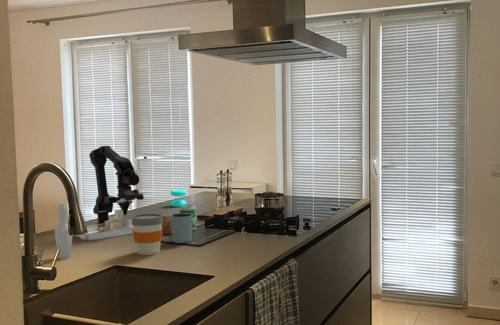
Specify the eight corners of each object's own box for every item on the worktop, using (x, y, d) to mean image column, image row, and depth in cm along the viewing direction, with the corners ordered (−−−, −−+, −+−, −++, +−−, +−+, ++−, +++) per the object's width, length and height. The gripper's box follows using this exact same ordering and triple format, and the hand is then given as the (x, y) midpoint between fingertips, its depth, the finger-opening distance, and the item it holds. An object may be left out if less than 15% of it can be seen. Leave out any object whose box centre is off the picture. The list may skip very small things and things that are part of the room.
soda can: (184, 232, 258) (183, 207, 257) (178, 229, 265) (178, 205, 264) (198, 230, 262) (197, 206, 261) (193, 228, 268) (192, 204, 267)
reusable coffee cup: (129, 251, 222) (127, 215, 221) (157, 247, 228) (156, 212, 227) (138, 257, 211) (136, 220, 210) (168, 253, 218) (167, 216, 216)
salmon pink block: (105, 227, 266) (104, 221, 265) (113, 225, 268) (113, 219, 268) (108, 228, 262) (108, 222, 262) (117, 227, 265) (117, 221, 265)
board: (99, 231, 265) (99, 227, 265) (127, 227, 274) (127, 223, 274) (110, 235, 255) (109, 231, 255) (138, 230, 264) (138, 226, 264)
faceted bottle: (53, 257, 214) (50, 203, 213) (67, 254, 219) (65, 201, 217) (61, 260, 210) (58, 204, 208) (76, 257, 215) (73, 202, 213)
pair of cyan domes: (167, 191, 338) (177, 189, 346) (167, 206, 339) (177, 204, 347) (179, 191, 333) (189, 189, 341) (180, 207, 334) (190, 205, 342)
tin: (151, 232, 261) (150, 215, 260) (155, 230, 264) (154, 214, 263) (176, 234, 254) (176, 217, 253) (180, 233, 257) (180, 215, 256)
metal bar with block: (108, 222, 272) (107, 208, 271) (113, 221, 273) (113, 207, 273) (125, 227, 256) (124, 212, 255) (131, 226, 258) (130, 212, 257)
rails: (72, 233, 261) (72, 227, 261) (130, 225, 280) (130, 219, 280) (88, 240, 244) (88, 234, 244) (149, 230, 263) (149, 224, 263)
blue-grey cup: (184, 237, 246) (183, 211, 245) (198, 240, 239) (197, 214, 238) (166, 241, 239) (165, 215, 238) (180, 244, 232) (179, 217, 231)
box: (72, 235, 258) (72, 226, 258) (97, 231, 266) (97, 223, 265) (84, 240, 246) (83, 231, 246) (109, 235, 254) (109, 227, 254)
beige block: (109, 228, 261) (109, 222, 261) (118, 227, 264) (118, 221, 263) (113, 230, 257) (113, 224, 257) (122, 228, 260) (122, 222, 260)
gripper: (112, 187, 253) (114, 219, 254) (148, 183, 265) (149, 214, 266) (103, 185, 262) (104, 217, 263) (137, 181, 273) (139, 212, 275)
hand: (125, 215), depth 266 cm, fingers closed
